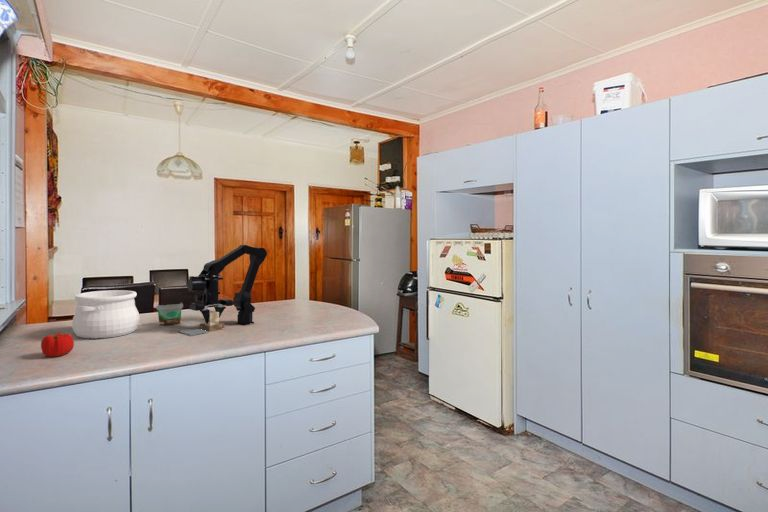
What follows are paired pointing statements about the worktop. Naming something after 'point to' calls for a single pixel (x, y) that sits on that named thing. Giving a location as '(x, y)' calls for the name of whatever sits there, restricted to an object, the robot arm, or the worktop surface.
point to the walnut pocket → (212, 327)
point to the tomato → (57, 344)
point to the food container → (169, 314)
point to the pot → (105, 314)
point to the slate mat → (193, 331)
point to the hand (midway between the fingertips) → (211, 322)
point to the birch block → (213, 318)
